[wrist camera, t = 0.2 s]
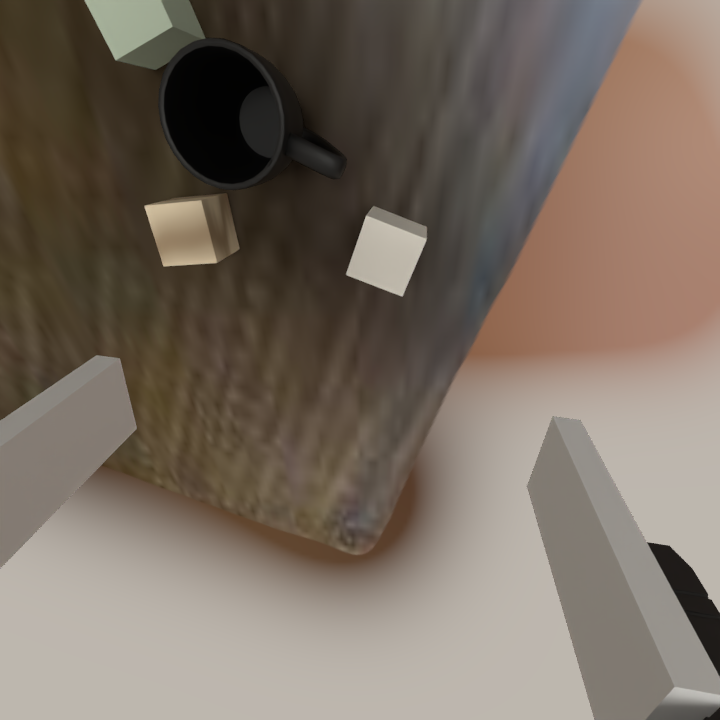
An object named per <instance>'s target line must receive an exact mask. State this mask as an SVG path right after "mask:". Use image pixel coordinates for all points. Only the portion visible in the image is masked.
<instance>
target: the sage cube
mask: <svg viewBox="0 0 720 720" xmlns="http://www.w3.org/2000/svg"><path fill="white" fill-rule="evenodd" d="M85 2H86V4H87V6H88V8H89V10H90V12H91V14H92V15H93V17H94V19H95V21H96V23H97V25H98V27H99V29H100V31H101V33H102V35H103V37H104V39H105V41H106V43H107V45H108V46H109V48H110V50H111V52H112V54H113V56H114V58H115V60H116V61H120V62H124V63H129V64H133V65H137V66H141V67H145V68H149V69H153V70H156V69H158V68H160V67H162V66H163V65H165V64H167V63H169V62H170V60H171V59H172V58H173V57H174V56H175V54H176V53H177V52H178V51H179V50H180V49H181V48H183V47H185V46H186V45H188V44H190V43H191V42H193V41H196V40H200V39H205V36H204V34H203V31H202V29H201V27H200V24H199V22H198V20H197V17H196V15H195V13H194V10H193V8H192V6H191V4H190V1H189V0H85Z"/></svg>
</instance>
